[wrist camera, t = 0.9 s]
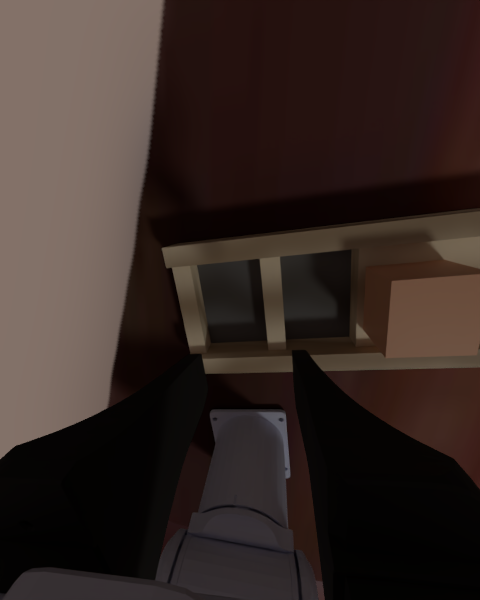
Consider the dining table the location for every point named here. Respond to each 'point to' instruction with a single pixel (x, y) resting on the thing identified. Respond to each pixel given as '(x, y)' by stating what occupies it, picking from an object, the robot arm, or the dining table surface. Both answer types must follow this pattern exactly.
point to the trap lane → (307, 291)
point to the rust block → (423, 309)
